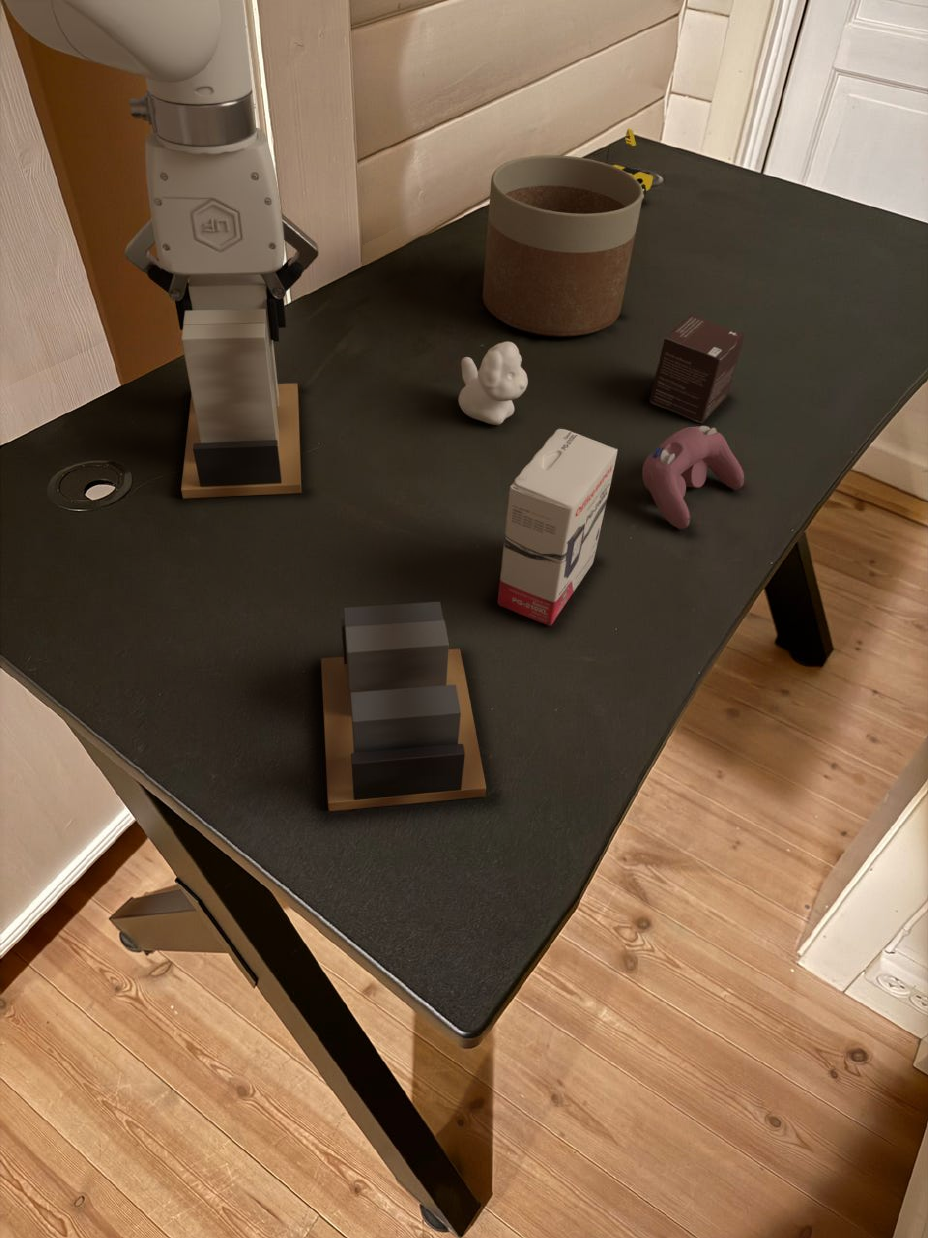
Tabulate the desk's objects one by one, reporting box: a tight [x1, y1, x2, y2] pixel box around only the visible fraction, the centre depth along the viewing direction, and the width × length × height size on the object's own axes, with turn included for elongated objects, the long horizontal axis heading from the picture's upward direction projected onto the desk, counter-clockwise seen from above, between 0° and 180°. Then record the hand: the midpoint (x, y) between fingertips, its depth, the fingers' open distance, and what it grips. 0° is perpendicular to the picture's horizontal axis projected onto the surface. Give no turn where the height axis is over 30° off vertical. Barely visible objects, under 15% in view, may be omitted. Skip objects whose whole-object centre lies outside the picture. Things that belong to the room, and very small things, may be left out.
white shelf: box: [180, 309, 303, 499], centre depth 78 cm, size 10×16×13 cm, turn 8°
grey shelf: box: [320, 601, 487, 812], centre depth 59 cm, size 10×12×8 cm
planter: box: [482, 154, 643, 338], centre depth 99 cm, size 16×16×14 cm
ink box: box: [497, 428, 618, 627], centre depth 68 cm, size 8×5×12 cm, turn 151°
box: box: [649, 314, 746, 424], centre depth 89 cm, size 6×6×7 cm
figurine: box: [457, 341, 529, 426], centre depth 85 cm, size 5×8×8 cm
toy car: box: [605, 128, 654, 204], centre depth 123 cm, size 12×8×8 cm, turn 145°
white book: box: [188, 274, 279, 407], centre depth 82 cm, size 6×2×12 cm, turn 98°
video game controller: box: [641, 425, 745, 530], centre depth 79 cm, size 10×5×7 cm, turn 135°
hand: (234, 333), depth 81 cm, fingers closed on white book, 6 cm apart
